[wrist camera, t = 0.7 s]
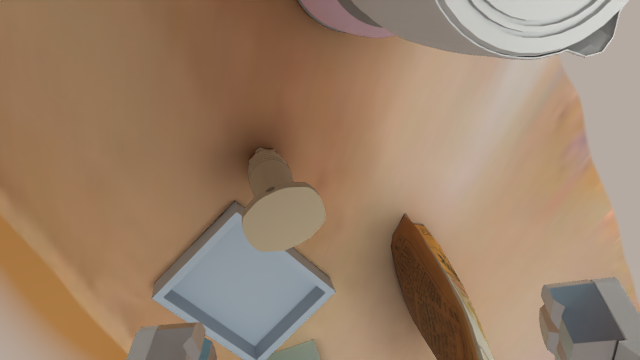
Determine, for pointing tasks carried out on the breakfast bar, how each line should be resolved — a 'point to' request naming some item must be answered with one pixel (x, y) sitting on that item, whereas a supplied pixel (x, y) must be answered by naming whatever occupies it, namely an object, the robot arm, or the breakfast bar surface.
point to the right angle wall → (297, 352)
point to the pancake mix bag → (436, 296)
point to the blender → (479, 24)
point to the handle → (279, 205)
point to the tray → (242, 289)
